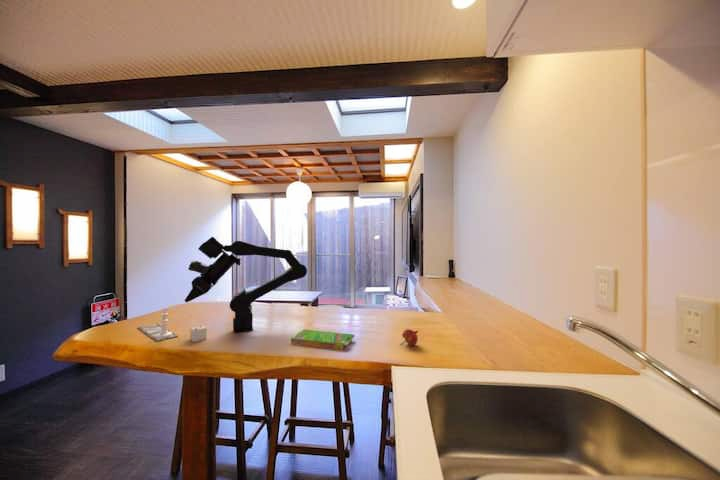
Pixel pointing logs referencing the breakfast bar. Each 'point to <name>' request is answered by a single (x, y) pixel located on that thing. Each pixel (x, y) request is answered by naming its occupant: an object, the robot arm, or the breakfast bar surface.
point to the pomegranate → (410, 337)
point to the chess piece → (164, 327)
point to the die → (198, 333)
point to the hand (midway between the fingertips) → (188, 299)
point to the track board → (154, 331)
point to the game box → (322, 339)
